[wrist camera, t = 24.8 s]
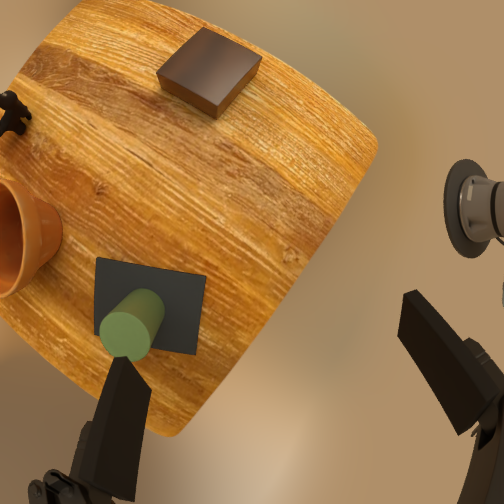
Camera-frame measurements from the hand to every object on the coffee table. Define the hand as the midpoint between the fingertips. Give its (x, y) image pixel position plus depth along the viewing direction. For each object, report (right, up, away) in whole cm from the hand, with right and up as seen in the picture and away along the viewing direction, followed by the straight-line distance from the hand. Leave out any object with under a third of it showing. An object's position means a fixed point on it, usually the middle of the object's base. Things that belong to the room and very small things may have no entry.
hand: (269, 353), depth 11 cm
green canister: (-16, -3, +24) cm, 29 cm away
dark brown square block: (-7, +29, +22) cm, 37 cm away
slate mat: (-16, -3, +25) cm, 29 cm away
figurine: (-40, +27, +18) cm, 51 cm away
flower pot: (-33, +7, +21) cm, 40 cm away
